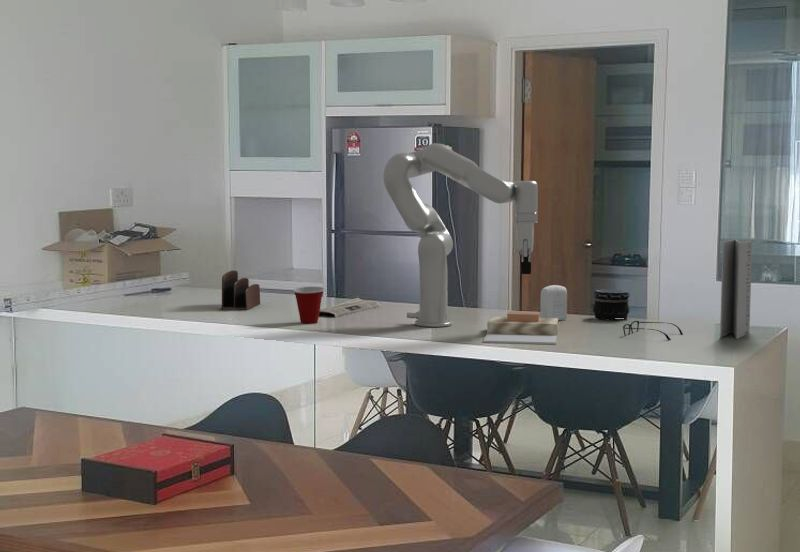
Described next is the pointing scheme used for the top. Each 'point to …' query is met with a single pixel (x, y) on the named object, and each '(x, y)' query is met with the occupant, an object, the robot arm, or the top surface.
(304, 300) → the plastic cup
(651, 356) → the top surface
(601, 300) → the container
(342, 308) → the newspaper
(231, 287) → the letter holder
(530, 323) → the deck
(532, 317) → the tile
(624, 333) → the eyeglasses
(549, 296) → the photo printer
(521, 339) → the mat
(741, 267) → the brochure
